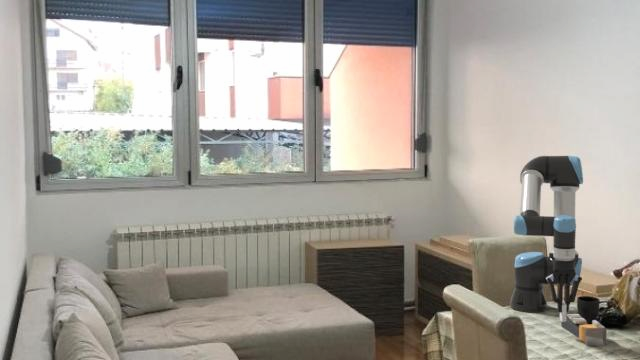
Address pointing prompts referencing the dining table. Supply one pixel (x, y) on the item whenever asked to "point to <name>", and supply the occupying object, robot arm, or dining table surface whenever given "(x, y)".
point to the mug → (590, 308)
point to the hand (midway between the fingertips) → (562, 320)
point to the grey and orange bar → (576, 329)
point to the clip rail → (591, 330)
